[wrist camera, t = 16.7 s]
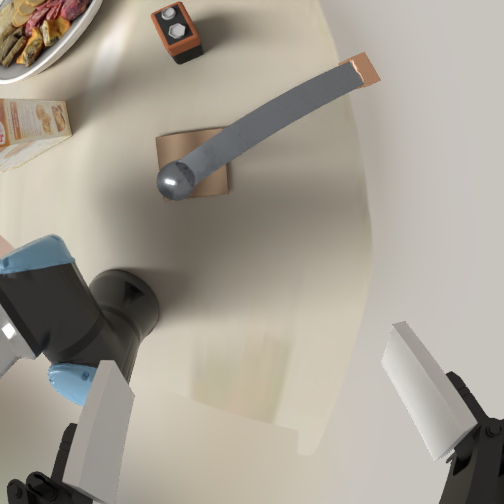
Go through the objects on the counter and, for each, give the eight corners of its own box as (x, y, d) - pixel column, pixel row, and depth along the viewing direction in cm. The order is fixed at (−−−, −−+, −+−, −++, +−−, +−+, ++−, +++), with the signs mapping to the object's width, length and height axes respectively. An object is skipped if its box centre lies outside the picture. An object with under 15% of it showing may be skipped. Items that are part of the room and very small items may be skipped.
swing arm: (156, 172, 29) (148, 178, 26) (349, 57, 25) (363, 50, 22) (177, 200, 31) (171, 208, 27) (366, 85, 26) (381, 81, 23)
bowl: (-8, 106, 29) (-33, 108, 22) (7, -3, 16) (-12, -10, 9) (111, 51, 31) (91, 39, 24) (123, -61, 18) (111, -79, 11)
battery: (178, 66, 34) (164, 48, 25) (162, 34, 31) (147, 11, 22) (204, 54, 33) (199, 33, 24) (188, 22, 30) (179, -4, 21)
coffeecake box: (65, 99, 33) (-12, 96, 15) (73, 136, 36) (-4, 150, 18) (10, 135, 33) (-62, 152, 15) (18, 168, 36) (-53, 197, 18)
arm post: (165, 199, 42) (146, 223, 31) (157, 137, 38) (133, 140, 27) (228, 191, 43) (229, 213, 32) (222, 128, 39) (221, 126, 28)
